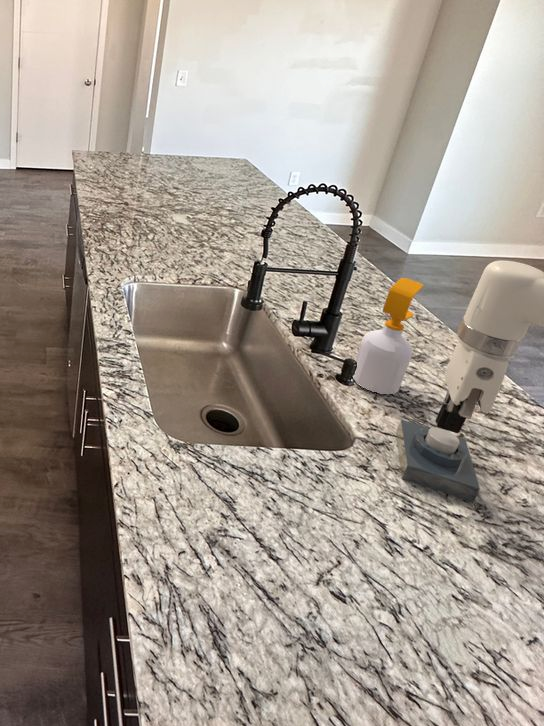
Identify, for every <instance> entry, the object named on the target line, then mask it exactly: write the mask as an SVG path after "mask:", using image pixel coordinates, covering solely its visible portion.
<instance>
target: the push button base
mask: <svg viewBox="0 0 544 726" xmlns="http://www.w3.org/2000/svg"><path fill="white" fill-rule="evenodd" d="M431 428H432V427H429V426H425V425H422V424H418V423H415V422H411V421H408V420H406V419H405V420H404V419H401V418H400V420H399V423H398V426H397V428H396V430H395V437H396V436H397V438H396V446H397V445H398V446H397V453H398V460H399V468H400V477H401V480H403V481H406V482H409V483H412V484H416V485H418V486H420V487H424V488H427V489H430V490H432V491H436V492H439V493H441V494H445V495H448V496H451V497H454V498H457V499H460V500H463V501H466V502H468V503H472V504H473V503H474V502H475V500H476V499H477V496H478V494H479V492H480V490H481V488H480V487H481V486H480V484H479V480H478V477H477V474H476V471H475V468H474V464H473V463H474V462H473V460H472V457H471V453H470V450H469V447H468V443H467V439H466V437H462V436H459V435H455V436H456V437H457V438H458V439H459V442H460V443H459V445H458V448H457V450H456V452H455V453H454V454H445V453H442V452H439V451H437V450H435V449H434V448H432V447H430V446H429V445H428V444H427V443H426V441H425V438H426V436H427V433H428V431H429V429H431Z"/></svg>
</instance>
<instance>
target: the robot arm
mask: <svg viewBox="0 0 544 726" xmlns="http://www.w3.org/2000/svg"><path fill="white" fill-rule="evenodd" d="M532 323H533V324H535V325H538V326H540V327H543V328H544V271H542V270H541V269H539V268H537V267H534V266H532V265H529V264H526V263H523V262H519V261H513V260H495V261H492V262H490V263H488V264H487V265H486V267H485V268H484V270H483V272H482V274H481V276H480V279H479V280H478V283H477V286H476V288H475V290H474V293H473V295H472V297H471V299H470V302H469V304H468V306H467V309H466V311H465V313H464V316H463V318H462V321H461V323H460V325H459V328H458V329H457V332H456V334H455V339H456V341H457V344H456V346H455V348H454V350H453V352H452V354H451V356H450V358H449V361H448V363H447V366H446V368H445V372H444V378H445V382H446V386H447V391H446V394H445V396H444V400H443V402H444V403H442V405H441V406H440V409H439V411H438V413H437V416H436V418H435V424H436V428H441V429H444V430H447V431H449V432H451V433H453V434H454V433H455V434H459V433H460V432H461V430H462V428H463V426H464V424H465V422H466V420H467V419H468V420H471V419H472V417H473V415H474V414H473V413H474V411H475V408H476V405H477V404H478V407H479V409H480V412H481V413H483V414H486V415H487V414H489V413H490V412H491V411H492V409H493V407H494V404H495V401H496V399H497V397H498V394H499V392H500V390H501V387H502V385H503V382H504V379H505V375H506V373H507V369H508V366H509V360H510V359H514V357H515V356H516V354H517V352H518V350H519V348H520V346H521V344H522V342H523V340H524V338H525V336H526V333H527V332H528V330H529V328H530V326H531V324H532Z"/></svg>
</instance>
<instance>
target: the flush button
mask: <svg viewBox="0 0 544 726" xmlns="http://www.w3.org/2000/svg"><path fill="white" fill-rule="evenodd" d="M430 428H431V429H429V431H428V433H427V436H426V438H425V441H426V443H427V444H428V445H429V446H430V447H432V448H434V449H435V450H437V451H439V452H442V453H445V454H454V453H455V452H456V450H457V448H458V445H459V443H460V442H459V439H458V438H457V437H456V436H457V435H456V434H454V433H453V432H451V431H447V430H444V429H441V428H438V427H430Z"/></svg>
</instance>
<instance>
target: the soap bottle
mask: <svg viewBox="0 0 544 726" xmlns="http://www.w3.org/2000/svg"><path fill="white" fill-rule="evenodd" d="M423 288H424V284H422V283H421V282H418V281H415V280H413V279H410V278H407V277H400V278H399V279H398V280H397V281H396V282H395V283H394V284H392V285H391V287H390V289H389V291H388V293H387V296H386V299H385V301H384V304H383V308H382V312H383V313H385V314H388V315H389V317H390V318H391V319H387V320H386V321H385V322H384V325H383V328H382V329H374V330H370V331H367V332H366V333H365V334H364V335H363V337H362V340H361V343H360V346H359V349H358V352H357V354H356V358H355V361H356V362H357V369H356V371H355V377H354V379H355V381H356V382H357V383H358V384H360V385H361V386H363V387H364V388H367V389H369V390H371V391H372V392H377V393H380V394H393V395H395V394H397V393H398V392H399V391H400V388H401V385H402V383H403V380H404V377H405V375H406V372H407V369H408V367H409V365H410V362H411V360H412V357H413V346H412V345H411V343H410V341H409V340H408V339H406V337H404V336H403V335H402V334H403V331H404V329H405V325H404V324H402V322H404V321H405V322H406V321H407V320H409V319H411V318H412V317H414V315H415V314H414V312H412V311H410V310H409V308H410V306H411V304H412V301H413V299H414V298H415V296H416V295H417V294H418V293H419V292H420V291H421V290H422V289H423ZM355 361H354V362H355ZM372 392H371V393H372Z"/></svg>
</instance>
